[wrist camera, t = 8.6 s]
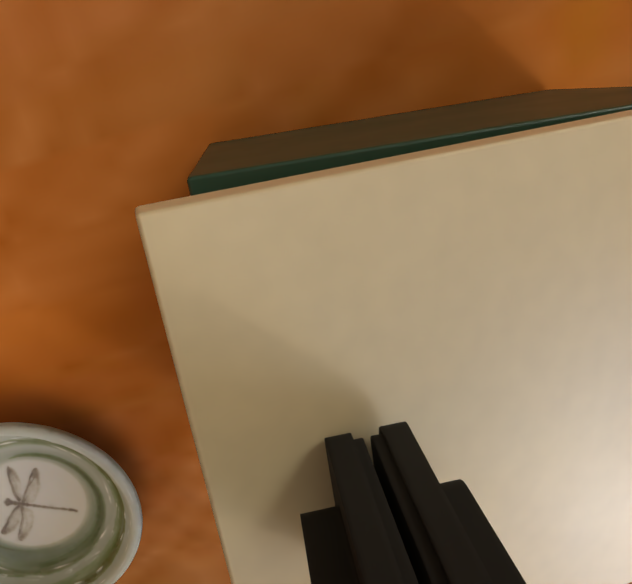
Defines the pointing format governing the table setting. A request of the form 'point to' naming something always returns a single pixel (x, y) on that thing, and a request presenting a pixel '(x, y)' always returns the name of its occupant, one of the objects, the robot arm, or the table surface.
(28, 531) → the saucer
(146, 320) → the table surface
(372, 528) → the robot arm
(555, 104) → the box
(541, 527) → the lid
